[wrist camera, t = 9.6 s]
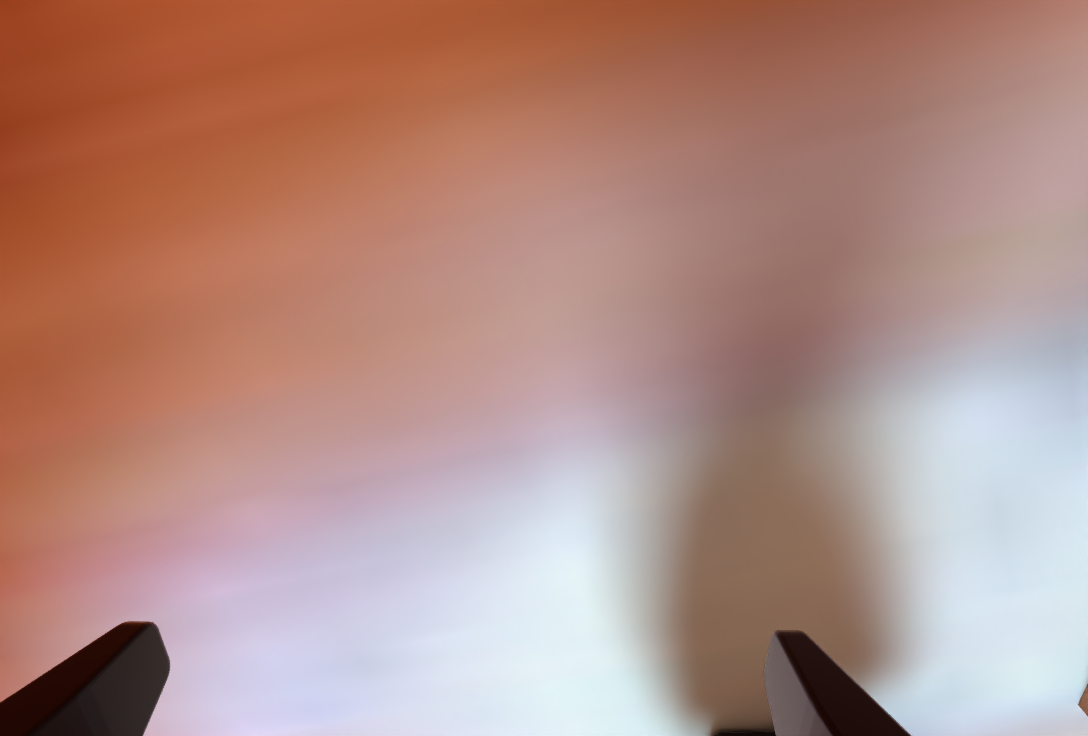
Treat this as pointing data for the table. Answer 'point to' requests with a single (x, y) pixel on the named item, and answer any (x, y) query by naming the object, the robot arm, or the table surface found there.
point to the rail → (1084, 702)
